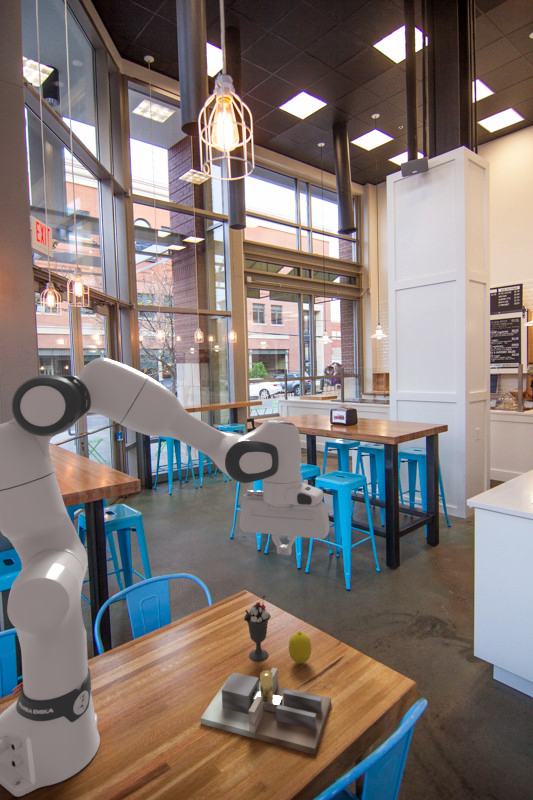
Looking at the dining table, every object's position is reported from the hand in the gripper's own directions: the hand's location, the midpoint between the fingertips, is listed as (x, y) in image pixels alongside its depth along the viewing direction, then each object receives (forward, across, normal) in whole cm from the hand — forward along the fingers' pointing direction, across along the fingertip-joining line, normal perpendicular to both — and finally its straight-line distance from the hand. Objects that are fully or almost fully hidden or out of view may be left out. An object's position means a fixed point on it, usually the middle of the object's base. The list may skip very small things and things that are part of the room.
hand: (284, 553), depth 98 cm
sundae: (+31, -11, +10) cm, 35 cm away
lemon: (+31, 0, +10) cm, 33 cm away
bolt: (+30, -5, -8) cm, 31 cm away
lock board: (+31, -2, -8) cm, 32 cm away
